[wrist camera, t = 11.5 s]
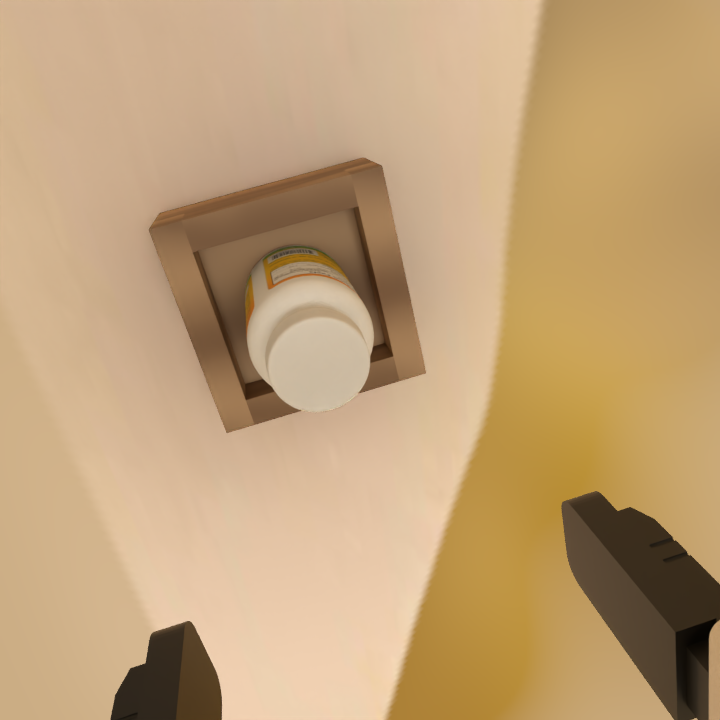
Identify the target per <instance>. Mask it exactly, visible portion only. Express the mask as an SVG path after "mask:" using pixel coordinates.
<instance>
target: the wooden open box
mask: <svg viewBox="0 0 720 720" xmlns="http://www.w3.org/2000/svg"><path fill="white" fill-rule="evenodd" d="M149 232H150V234H151V237H152V240H153V242H154V245H155V247H156V250H157V253H158V255H159V258H160V260H161V263H162V266H163V268H164V271H165V273H166V276H167V279H168V281H169V284H170V286H171V289H172V292H173V294H174V297H175V299H176V302H177V305H178V307H179V310H180V312H181V315H182V318H183V320H184V323H185V326H186V328H187V331H188V333H189V336H190V339H191V341H192V344H193V346H194V349H195V352H196V354H197V357H198V359H199V362H200V365H201V367H202V370H203V372H204V375H205V378H206V380H207V383H208V385H209V388H210V391H211V393H212V396H213V398H214V401H215V404H216V406H217V409H218V412H219V414H220V417H221V419H222V422H223V425H224V427H225V430H226V432H227V433H229V432H232V431H235V430H239V429H242V428H245V427H249V426H252V425H255V424H259V423H262V422H265V421H268V420H272V419H275V418H278V417H282V416H285V415H288V414H292V413H295V412H298V411H302V410H299V409H296V408H294V407H292V406H290V405H289V404H287V403H285V402H284V401H283V400H282V399H281V398H280V397H279V396H278V395H277V394H276V392H275V391H274V389H273V388H272V386H270V385H269V384H268V383H267V382H266V381H265V380H264V379H263V378H262V377H261V376H260V375H259V373H258V372H257V370H256V369H255V367H254V365H253V363H252V361H251V358H250V354H249V350H248V345H247V336H246V311H245V288H246V283H247V280H248V277H249V275H250V273H251V271H252V269H253V268H254V266H255V265H256V264H257V263H258V262H259V261H260V260H261V259H262V258H263V257H264V256H265V255H267V254H268V253H270V252H272V251H274V250H275V249H278V248H281V247H284V246H289V245H304V246H310V247H313V248H316V249H319V250H321V251H323V252H325V253H326V254H328V255H329V256H330V257H331V258H333V260H334V261H335V262H336V263H337V264H338V265H339V266H340V268H341V269H342V271H343V272H344V274H345V275H346V277H347V278H348V280H349V282H350V283H351V285H352V286H353V288H354V290H355V291H356V293H357V294H358V295H359V297H360V299H361V300H362V302H363V303H364V305H365V307H366V309H367V311H368V313H369V315H370V318H371V321H372V324H373V331H374V342H373V348H372V353H371V356H370V369H369V374H368V377H367V380H366V382H365V384H364V386H363V387H362V389H361V390H360V392H359V393H361V392H365V391H368V390H371V389H375V388H378V387H381V386H385V385H388V384H391V383H395V382H398V381H401V380H405V379H408V378H411V377H415V376H418V375H421V374H425V373H426V370H425V366H424V361H423V356H422V352H421V347H420V342H419V338H418V333H417V328H416V323H415V319H414V314H413V309H412V305H411V300H410V295H409V291H408V286H407V281H406V276H405V272H404V267H403V262H402V258H401V253H400V248H399V244H398V239H397V234H396V230H395V225H394V220H393V215H392V211H391V206H390V201H389V197H388V192H387V187H386V183H385V178H384V173H383V168H382V166H381V165H379V164H377V163H374V162H372V161H370V160H368V159H366V158H361V159H357V160H353V161H350V162H346V163H342V164H338V165H335V166H331V167H327V168H324V169H320V170H316V171H313V172H309V173H305V174H302V175H298V176H294V177H291V178H287V179H283V180H280V181H276V182H272V183H269V184H265V185H261V186H258V187H254V188H250V189H247V190H243V191H239V192H236V193H232V194H228V195H225V196H221V197H217V198H214V199H210V200H206V201H203V202H199V203H195V204H192V205H188V206H184V207H181V208H177V209H173V210H170V211H166V212H162V213H160V214H159V215H158V217H157V218H156V220H155V221H154V223H153V224H152V226H151V227H150V229H149Z"/></svg>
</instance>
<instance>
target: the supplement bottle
mask: <svg viewBox="0 0 720 720" xmlns="http://www.w3.org/2000/svg"><path fill="white" fill-rule="evenodd" d="M245 311H246V336H247V345H248V350H249V354H250V358H251V361H252V363H253V365H254V367H255V369H256V370H257V372H258V373H259V375H260V376H261V377H262V378H263V379H264V380H265V381H266V382H267V383H268V384H269V385H270V386H272V388H273V389H274V391H275V392H276V394H277V395H278V396H279V397H280V398H281V399H282V400H283V401H284V402H285V403H287V404H289V405H290V406H292V407H294V408H296V409H299V410H302V411H307V412H325V411H330V410H333V409H336V408H339V407H341V406H343V405H344V404H346V403H348V402H349V401H350V400H352V399H353V398H354V397H355V396H356V395H357V394H358V393H359V392H360V390H361V389H362V387H363V386H364V384H365V382H366V380H367V377H368V374H369V369H370V356H371V353H372V348H373V342H374V331H373V324H372V321H371V318H370V315H369V313H368V311H367V309H366V307H365V305H364V303H363V302H362V300H361V299H360V297H359V295H358V294H357V293H356V291H355V290H354V288H353V286H352V285H351V283H350V282H349V280H348V278H347V277H346V275H345V274H344V272H343V271H342V269H341V268H340V266H339V265H338V264H337V263H336V262H335V261H334V260H333V258H331V257H330V256H329V255H328V254H326V253H325V252H323V251H321V250H319V249H316V248H313V247H310V246H304V245H289V246H284V247H281V248H278V249H275V250H274V251H272V252H270V253H268V254H267V255H265V256H264V257H263V258H262V259H261V260H260V261H259V262H258V263H257V264H256V265H255V266H254V268H253V269H252V271H251V273H250V275H249V277H248V280H247V283H246V288H245Z"/></svg>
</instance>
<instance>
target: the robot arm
mask: <svg viewBox="0 0 720 720" xmlns="http://www.w3.org/2000/svg"><path fill="white" fill-rule="evenodd" d="M562 517H563V525H564V533H565V541H566V550H567V557H568V561H569V565H570V567H571V570H572V572H573V575H574V577H575V579H576V581H577V582H578V584H579V586H580V587H581V588H582V590H583V591H584V593H585V594H586V595H587V597H588V598H589V600H590V601H591V603H592V604H593V605H594V607H595V608H596V610H597V611H598V613H599V614H600V615H601V617H602V618H603V620H604V621H605V622H606V624H607V625H608V627H609V628H610V630H611V631H612V632H613V634H614V635H615V637H616V638H617V639H618V641H619V642H620V643H621V645H622V647H623V648H624V649H625V651H626V652H627V653H628V655H629V656H630V658H631V659H632V661H633V662H634V664H635V665H636V666H637V668H638V669H639V671H640V672H641V673H642V675H643V676H644V678H645V679H646V681H647V682H648V683H649V685H650V686H651V688H652V689H653V690H654V692H655V693H656V695H657V696H658V697H659V699H660V700H661V702H662V703H663V704H664V706H665V707H666V709H667V710H668V712H669V713H670V714H671V716H672V717H673V719H674V720H692V719H694V718H697V719H698V720H720V584H719V583H718V582H717V581H716V580H715V579H714V578H713V577H712V576H711V575H710V574H709V573H708V572H707V571H706V570H705V569H704V568H703V567H702V566H701V565H700V564H699V563H698V562H697V561H696V560H695V559H694V558H693V557H692V556H691V555H690V556H689V555H688V554H687V551H686V550H685V549H684V548H683V547H682V546H681V545H680V544H679V543H678V542H677V541H674V540H673V538H672V536H671V535H670V534H669V533H668V532H667V531H666V530H665V529H664V528H663V527H662V526H661V525H660V524H659V523H658V522H657V521H656V520H655V519H653V518H651V517H649V516H647V515H645V514H643V513H641V512H639V511H637V510H635V509H633V508H631V507H629V508H626V509H623V510H620V511H617V510H616V509H615V508H614V507H613V506H612V505H611V504H610V503H609V502H608V501H607V499H606V498H605V497H604V496H603V495H602V494H601V493H599V492H597V491H595V492H592V493H589V494H585V495H582V496H579V497H577V498H573V499H570V500H567V501H564V502H563V503H562ZM111 720H222V696H221V689H220V683H219V679H218V676H217V673H216V670H215V668H214V666H213V664H212V662H211V660H210V658H209V656H208V654H207V652H206V650H205V647H204V645H203V643H202V641H201V639H200V637H199V635H198V633H197V631H196V629H195V627H194V625H193V624H192V623H191V622H190V621H187V622H184V623H181V624H178V625H174V626H171V627H168V628H165V629H162V630H159V631H156V632H153V633H152V634H151V636H150V640H149V646H148V652H147V658H146V663H145V664H142V665H140V666H136V667H134V668H131V669H130V670H129V672H128V674H127V676H126V677H125V679H124V681H123V682H122V684H121V686H120V688H119V689H118V691H117V693H116V695H115V700H114V705H113V710H112V715H111Z"/></svg>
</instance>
